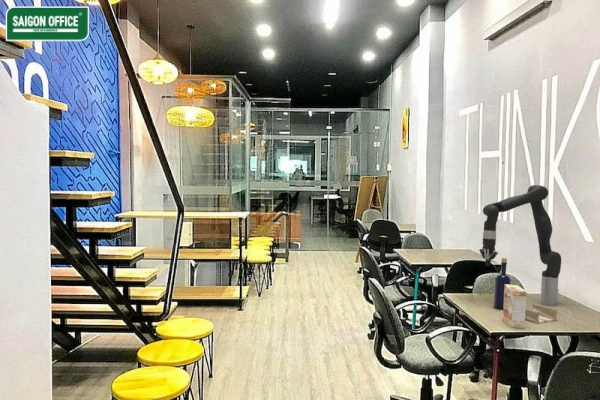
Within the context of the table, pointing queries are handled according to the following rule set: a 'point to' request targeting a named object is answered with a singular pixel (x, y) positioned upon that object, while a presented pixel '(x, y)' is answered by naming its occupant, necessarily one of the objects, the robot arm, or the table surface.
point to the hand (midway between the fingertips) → (487, 265)
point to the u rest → (540, 314)
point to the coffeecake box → (514, 306)
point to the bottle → (501, 286)
